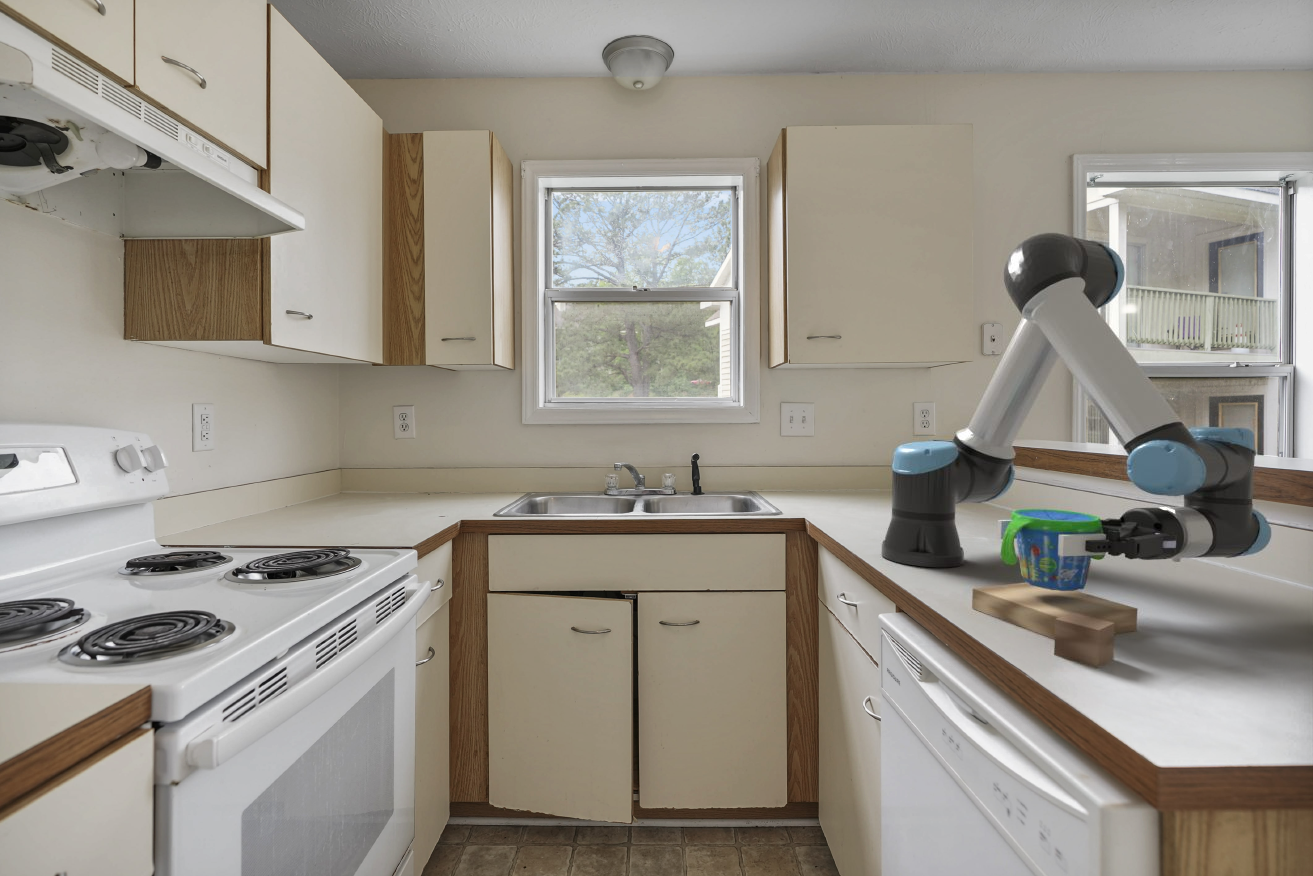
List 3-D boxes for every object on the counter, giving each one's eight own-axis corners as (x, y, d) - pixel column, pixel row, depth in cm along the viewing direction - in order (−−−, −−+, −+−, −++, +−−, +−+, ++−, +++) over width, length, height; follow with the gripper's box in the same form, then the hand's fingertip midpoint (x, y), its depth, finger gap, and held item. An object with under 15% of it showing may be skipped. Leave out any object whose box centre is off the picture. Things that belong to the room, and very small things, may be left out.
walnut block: (1054, 655, 73) (1055, 618, 73) (1070, 647, 75) (1071, 612, 75) (1097, 668, 69) (1098, 630, 69) (1112, 659, 72) (1114, 622, 72)
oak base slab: (972, 608, 90) (972, 588, 90) (1039, 599, 95) (1040, 580, 94) (1062, 642, 77) (1063, 619, 77) (1136, 630, 81) (1137, 608, 81)
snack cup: (1027, 597, 79) (1029, 521, 79) (977, 576, 90) (979, 508, 89) (1135, 595, 81) (1138, 520, 81) (1074, 574, 91) (1076, 508, 91)
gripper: (1248, 579, 77) (1099, 586, 73) (1091, 542, 100) (971, 545, 96) (1251, 521, 77) (1102, 525, 73) (1093, 497, 99) (972, 499, 96)
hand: (1028, 537), depth 84 cm, fingers closed on snack cup, 10 cm apart
